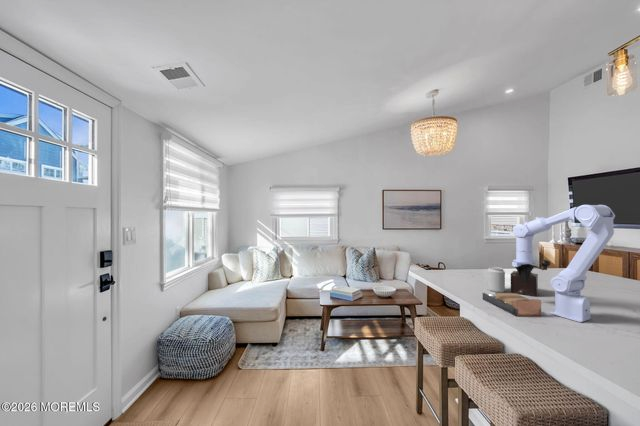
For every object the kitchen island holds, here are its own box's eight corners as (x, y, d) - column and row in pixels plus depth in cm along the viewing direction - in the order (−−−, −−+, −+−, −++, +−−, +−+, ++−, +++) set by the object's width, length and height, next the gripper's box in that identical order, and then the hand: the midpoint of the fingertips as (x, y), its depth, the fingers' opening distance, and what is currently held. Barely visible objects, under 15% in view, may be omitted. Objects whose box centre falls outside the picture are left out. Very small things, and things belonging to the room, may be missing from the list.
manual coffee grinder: (509, 292, 132) (509, 256, 132) (513, 288, 140) (512, 254, 140) (550, 299, 121) (550, 260, 121) (551, 294, 129) (551, 257, 129)
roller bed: (482, 299, 122) (482, 286, 122) (503, 298, 122) (503, 286, 122) (516, 316, 102) (516, 300, 102) (541, 315, 102) (541, 300, 102)
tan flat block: (495, 297, 115) (495, 293, 115) (513, 297, 115) (513, 292, 115) (513, 305, 105) (513, 300, 105) (532, 305, 105) (532, 300, 105)
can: (504, 294, 130) (504, 269, 130) (486, 291, 134) (486, 267, 134) (505, 290, 136) (505, 267, 135) (487, 288, 140) (487, 265, 140)
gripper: (523, 248, 124) (523, 277, 124) (504, 250, 118) (504, 281, 118) (541, 250, 118) (541, 281, 118) (522, 253, 112) (522, 285, 112)
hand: (524, 281), depth 118 cm, fingers closed
